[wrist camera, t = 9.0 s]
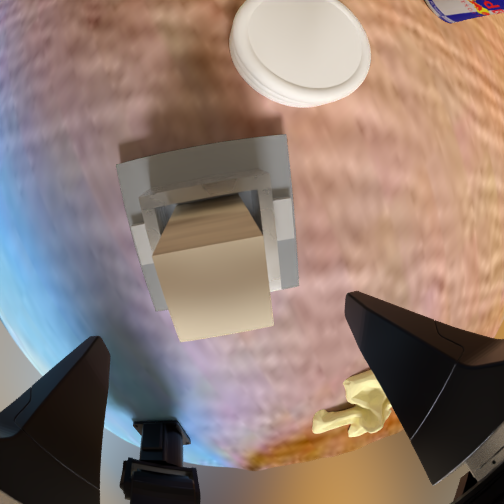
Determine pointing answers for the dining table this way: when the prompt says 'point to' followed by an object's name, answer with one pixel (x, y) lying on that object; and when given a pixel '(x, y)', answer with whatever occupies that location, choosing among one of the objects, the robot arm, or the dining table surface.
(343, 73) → the white thick disc
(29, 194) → the dining table surface
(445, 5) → the beverage can
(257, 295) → the wooden block
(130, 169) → the plate
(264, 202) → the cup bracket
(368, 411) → the cloth
